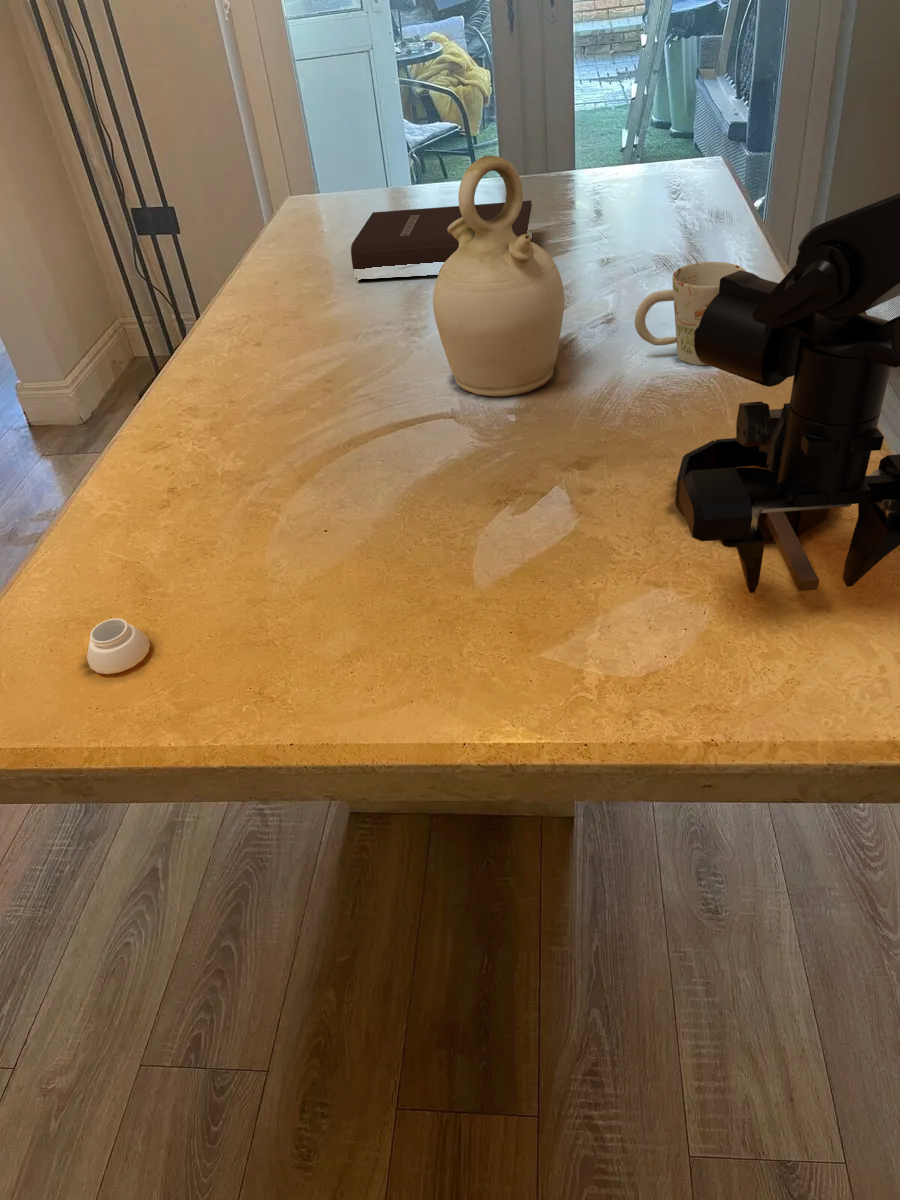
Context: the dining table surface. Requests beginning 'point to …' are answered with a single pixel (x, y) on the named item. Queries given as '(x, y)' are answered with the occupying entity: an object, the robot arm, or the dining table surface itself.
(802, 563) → the frying pan
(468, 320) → the jug
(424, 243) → the book
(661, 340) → the mug
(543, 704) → the dining table surface
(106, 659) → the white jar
